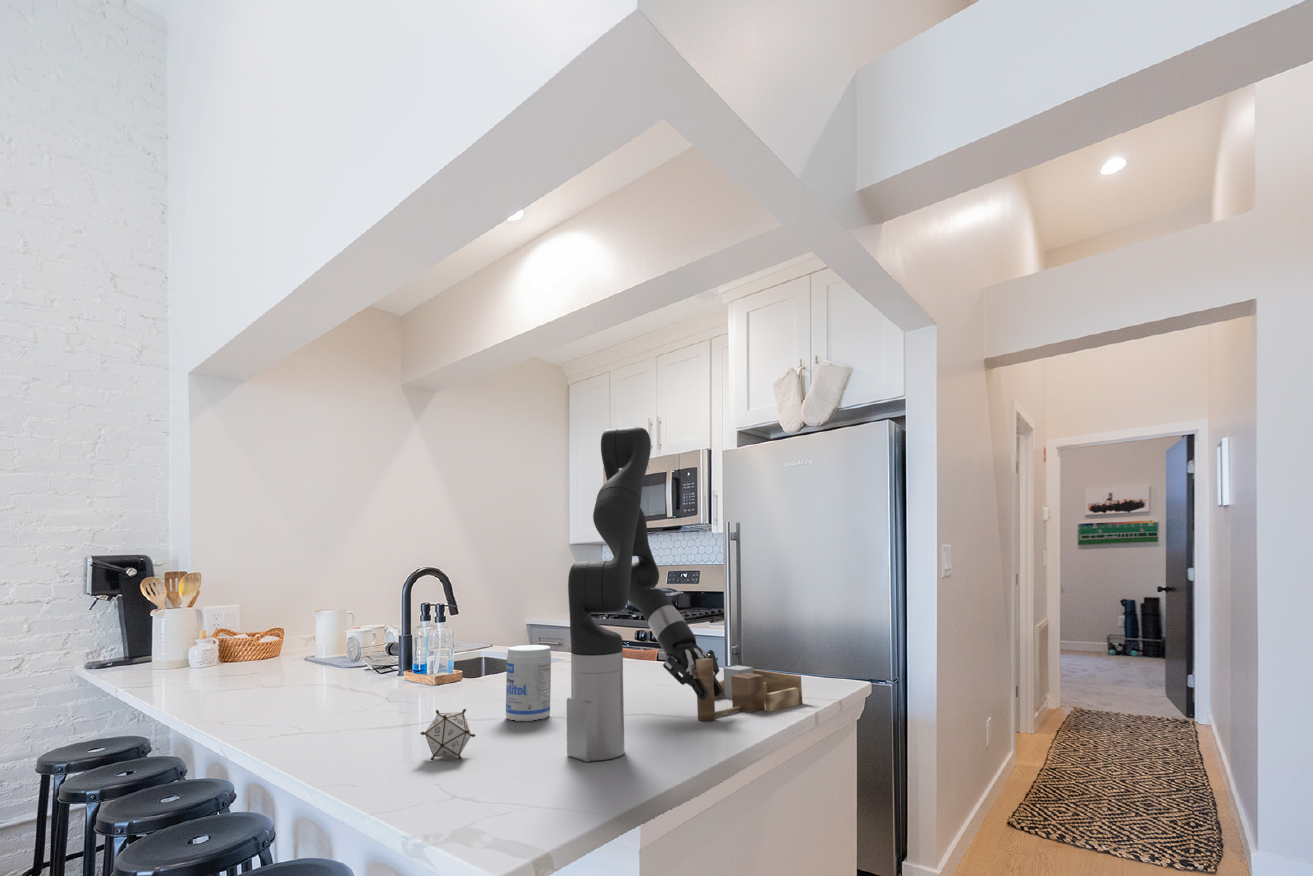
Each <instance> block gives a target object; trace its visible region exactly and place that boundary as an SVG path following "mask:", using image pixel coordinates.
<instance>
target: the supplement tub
mask: <svg viewBox="0 0 1313 876" xmlns="http://www.w3.org/2000/svg"><path fill="white" fill-rule="evenodd" d="M506 655H507V657H506V682H505V683H506V686H505V687H506V688H505V689H506V691H505V692H506V693H505V716H506V718H507V719H508V720H510V721H512V720H515V721H514V722H520V721H521V722H534V721H533V720H537V721H539V720H538V719H541V720H544V719H546V718H548V717H549V716H550V714H551V689H552V688H551V683H552V681H551V680H552V679H551V678H552V677H551V676H552V652H551V646H549V645H545V644H544V645H543V644H542V645H541V644H524V645H523V644H522V645H515V646H510V647H508V650H507V654H506Z"/></svg>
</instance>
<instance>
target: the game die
mask: <svg viewBox="0 0 1313 876" xmlns="http://www.w3.org/2000/svg"><path fill="white" fill-rule="evenodd" d="M466 712H467V708H464V709H462V712H443V713H442V712H440V710H438V709H435V713H436V716H435V718H434V719H433V720H432V722H431V723H430V725H429V727H428V728H427V729H426V730H425V731H421V732H420V733H419V734H420V735H421V736H424V735H425V738H426V741H427V744H428V747H429V749H430V751H431V754H432V756H431V758H430V760H432V761H434V760H435V758H442V757H443V758H445V757H457V759H458V760H460V759H461V760H462V755H461V754H462V752H463V751H464V749H465V747H466V745H467V744H468V742H469V740H470V739H471V738H475V737H476V736H477V735H475V733H472V732H471V731H470V728H469V725H468V722H467V718H466V716H465V714H466Z"/></svg>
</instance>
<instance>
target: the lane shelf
mask: <svg viewBox="0 0 1313 876" xmlns="http://www.w3.org/2000/svg"><path fill="white" fill-rule="evenodd" d="M753 671H754V674H758V675H763V679H764V698H765V712H773V711H774V712H775V711H777V710H782V709H785V708H790V707H794V706H798V705H801V704H803V687H802V675H799V674H798V675H797V674H790V673H784V672H776V671H770V670H764V669H763V670H761V669H755V668H753ZM718 682H719V683H720V685H721V686H722V690H723V691H722V693H721V694H720V696H717V697H715V695H714V700H715V699H720V698H725V694H724V679H722V680H718Z"/></svg>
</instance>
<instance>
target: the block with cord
mask: <svg viewBox="0 0 1313 876" xmlns="http://www.w3.org/2000/svg"><path fill="white" fill-rule="evenodd" d="M696 674H697V676H698V678H697V679H700V680H701V682H702V683H703V685H704V687H705V688H706V690H707V691H708V696H707V697H706V698H705V699H704V700H701V699H700V698H699V697H698V696H697V695H696V704H697V705H696V707H697V720H698V722H699V721H700V722H714V721H715V720H716V718H717V717H720V716H725V715H729V714H732V713H736V712H745V713H753V712H757V711H760V710H766V707H765V698H764V679H763V675H758V674H751V673H743V674H738V675H733V676H731V683H732V700H731V701H732V707H730V708H729V707H728V708H725V709H721V710H717V711H716V705H715V703H716V702H715V699H714V677H713V659H711V658H700V659H696Z"/></svg>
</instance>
